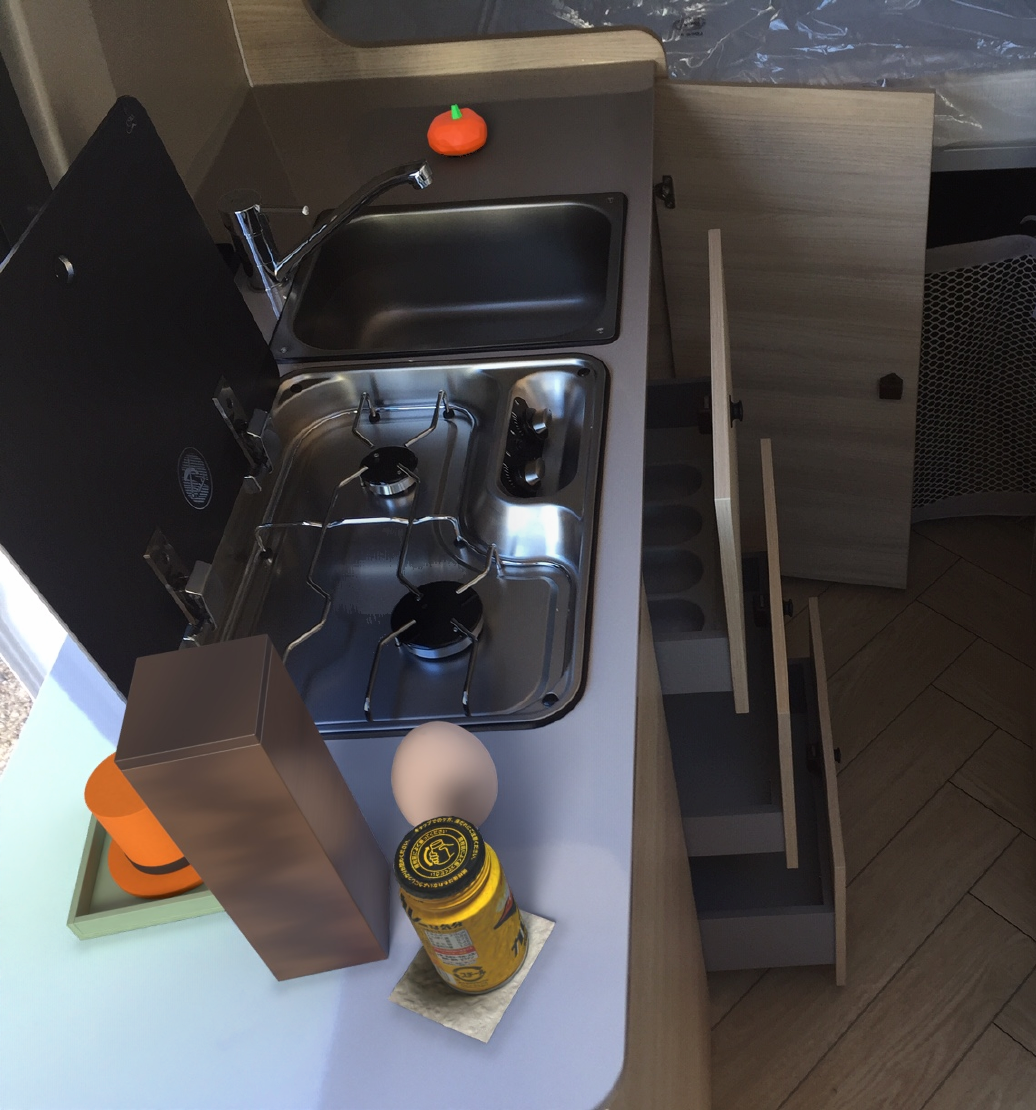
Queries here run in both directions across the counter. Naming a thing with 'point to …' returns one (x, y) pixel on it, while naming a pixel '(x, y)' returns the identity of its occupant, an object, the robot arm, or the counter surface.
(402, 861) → the condiment
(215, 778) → the stand
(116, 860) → the hat
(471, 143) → the pumpkin
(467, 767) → the egg
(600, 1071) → the counter surface
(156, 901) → the tray
